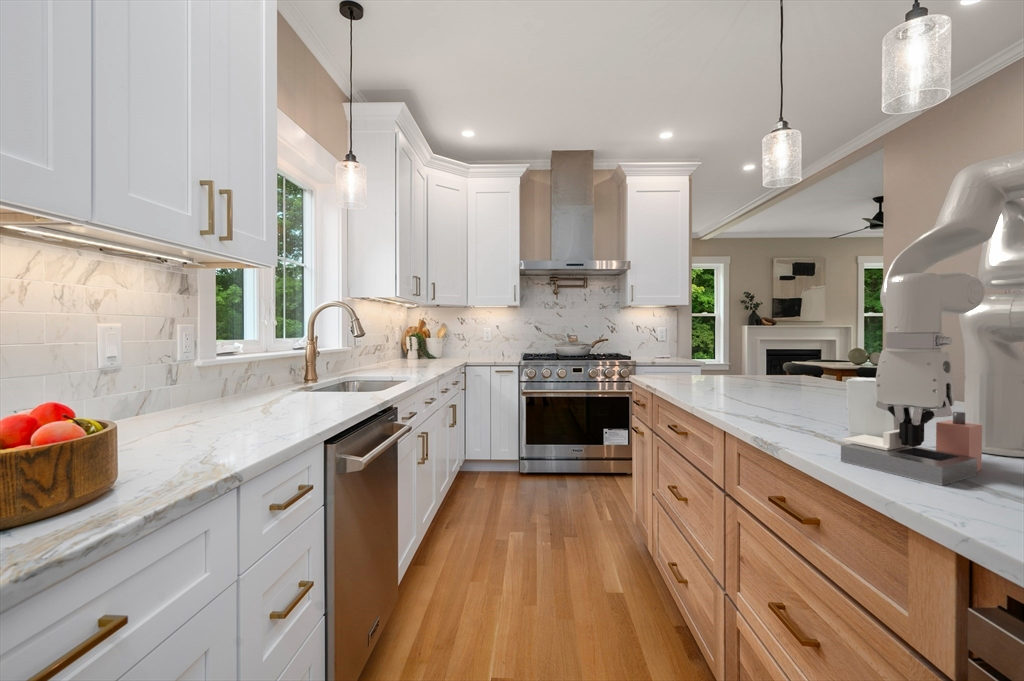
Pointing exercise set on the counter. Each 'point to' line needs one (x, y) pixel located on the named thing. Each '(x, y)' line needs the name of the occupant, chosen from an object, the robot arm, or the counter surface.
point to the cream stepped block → (878, 440)
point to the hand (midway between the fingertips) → (911, 445)
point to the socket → (913, 462)
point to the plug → (960, 437)
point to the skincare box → (866, 410)
